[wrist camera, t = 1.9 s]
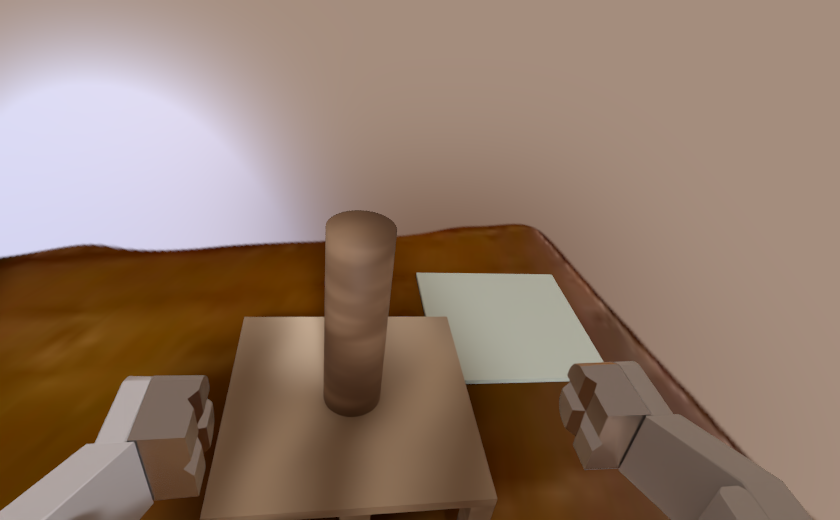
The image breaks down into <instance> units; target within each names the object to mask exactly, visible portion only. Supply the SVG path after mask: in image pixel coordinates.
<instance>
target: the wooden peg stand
mask: <svg viewBox="0 0 840 520" xmlns="http://www.w3.org/2000/svg"><path fill="white" fill-rule="evenodd" d="M396 236H397V227H396V225H395V224H394V222H393V221H392V220H390V219H389V218H387V217H385V216H383V215H381V214H378V213H375V212H370V211H361V210H360V211H359V210H355V211H346V212H342V213H339V214H336V215H334V216H333V217H331V218H330V219H329V220H328V221H327V223H326V244H325V316H324V317H244V321H243V326H242V330H241V335H240V339H239V344H238V348H237V353H236V357H235V362H234V366H233V371H232V375H231V380H230V384H229V389H228V394H227V398H226V403H225V407H224V412H223V416H222V421H221V425H220V430H219V434H218V439H217V443H216V448H215V452H214V457H213V461H212V466H211V470H210V475H209V479H208V484H207V488H206V493H205V497H204V502H203V507H202V511H201V516H200V520H301V519H315V518H329V517H339V520H370V515H372V514H386V513H400V512H415V511H429V510H443V509H457V508H460V509H459V513H458V516H457V520H490V519H491V516H492V513H493V510H494V507H495V504H496V502H497V496H496V492H495V488H494V485H493V481H492V478H491V474H490V470H489V467H488V463H487V459H486V456H485V452H484V449H483V445H482V441H481V438H480V434H479V431H478V427H477V423H476V420H475V416H474V413H473V409H472V405H471V402H470V398H469V394H468V391H467V387H466V384H465V380H464V376H463V373H462V369H461V366H460V362H459V358H458V355H457V351H456V348H455V344H454V340H453V337H452V333H451V330H450V326H449V322H448V319H447V317H388V314H389V304H390V294H391V285H392V275H393V265H394V255H395V246H396Z"/></svg>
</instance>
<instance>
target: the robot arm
mask: <svg viewBox="0 0 840 520" xmlns="http://www.w3.org/2000/svg"><path fill="white" fill-rule="evenodd" d="M567 376H568V378H569V380H570V383H569V384H567V385H566V386H565V387H564V388H563V389H562V391H561V395H560V398H559V411H560V415H561V419H562V421H563V424H564V426H565V428H566V429H567V430H568V431H569V432H571V433H572V434H573V435H575V439H574V443H573V446H574V448H575V450H576V453H577V455H578V457H579V459H580V461H581V463H582V466H583V468H584V470H589V469H615V468H620V469H619V471H620V472H621V473H622V474H623V475H624V476H625V477H626V478H628V479H629V480H630V481H631V482H632V483H633V484H634V485H635V486H636V487H637V488H638V489H639V490H640V491H641V492H642V493H644V494H645V495H646V496H647V497H648V498H649V499H650V500H651V501H652V502H653V503H654V504H655V505H656V506H657V507H658V508H660V509H661V510H662V511H663V512H664V513H665V514H666V515H667V516H668V517H669V518H670V519H671V520H813V519H812V518H811V516H810V515H809V514H808V513H807V511H806V510H805V509H804V508H803V506H802V505H801V504H800V503H799V501H798V500H797V499H796V498H795V496H794V495H793V494H792V493H791V491H790V490H789V489H788V487H787V486H786V485H785V484H784V482H783V481H781V480H780V479H779V478H777V477H776V476H774V475H772V474H771V473H769V472H768V471H766V470H765V469H763V468H762V467H760V466H759V465H757V464H755V463H754V462H752V461H751V460H749V459H748V458H746V457H745V456H743V455H742V454H740V453H738V452H737V451H735V450H734V449H732V448H731V447H729V446H728V445H726V444H725V443H723V442H721V441H720V440H718V439H717V438H715V437H714V436H712V435H711V434H709V433H708V432H706V431H704V430H703V429H701V428H700V427H698V426H697V425H695V424H694V423H692V422H691V421H689V420H687V419H686V418H684V417H683V416H681V415H680V414H673V413H672V412H671V410H670V409H669V407H668V406H667V404H666V403H665V401H664V400H663V399H662V397H661V396H660V394H659V393H658V391H657V390H656V388H655V387H654V386H653V384H652V383H651V381H650V380H649V378H648V377H647V375H646V374H645V372H644V371H643V370H642V368H641V367H640V365H639V364H637V363H636V362H635V361H626V362H600V363H576V364H573V365H572V366H571V367H570V369H569V372H568V374H567ZM209 389H210V386H209V381H208V377H207V376H205V375H181V376H128V377H127V378H126V379H125V380H124V381H123V382H122V384H121V386H120V389H119V391H118V393H117V395H116V397H115V399H114V402H113V404H112V406H111V408H110V410H109V413H108V415H107V417H106V419H105V421H104V424H103V426H102V428H101V430H100V432H99V434H98V437H97V439H96V441H95V443H94V444H86V445H84V446H83V447H82V448H80V449H79V450H78V451H77V452H75V453H74V454H73V455H72V456H70V457H69V458H68V459H66V460H65V461H64V462H63V463H61V464H60V465H59V466H57V467H56V468H55V469H54V470H52V471H51V472H50V473H49V474H47V475H46V476H45V477H43V478H42V479H41V480H40V481H38V482H37V483H36V484H34V485H33V486H32V487H31V488H29V489H28V490H27V491H26V492H24V493H23V494H22V495H20V496H19V497H18V498H17V499H15V500H14V501H13V502H11V503H10V504H9V505H8V506H6V507H5V508H4V509H2V510H1V511H0V520H139V519H140V518H141V517H142V516H143V515H144V513H145V512H146V511H147V510H148V509H149V508H150V507H151V505H152V504H153V500H163V499H174V498H184V497H195V496H199V493H200V489H201V485H202V481H203V476H204V472H205V468H206V465H205V459H204V453H205V452H206V451H207V450H208V449H209V448H210V446H211V442H212V437H213V429H214V408H213V402H211V401H210V400H209V399H207V397H208V393H209Z"/></svg>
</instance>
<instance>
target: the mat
mask: <svg viewBox="0 0 840 520" xmlns="http://www.w3.org/2000/svg"><path fill="white" fill-rule="evenodd" d="M416 279H417V283H418V288H419V292H420V297H421V301H422V306H423V310H424V314H425V317H447V319H448V322H449V326H450V330H451V333H452V337H453V340H454V344H455V348H456V351H457V355H458V358H459V362H460V366H461V369H462V373H463V376H464V380H465V384H484V383H522V382H561V381H570V380H569V378H568V376H567V374H568V372H569V369H570V367H571V366H572V365H573V364H576V363H600V362H603V360H602V358H601V357H600V355H599V353H598V352H597V350H596V348H595V347H594V345H593V343H592V342H591V340H590V338H589V337H588V335H587V333H586V332H585V330H584V328H583V327H582V325H581V323H580V322H579V320H578V318H577V317H576V315H575V313H574V311H573V310H572V308H571V306H570V305H569V303H568V301H567V300H566V298H565V296H564V295H563V293H562V291H561V290H560V288H559V286H558V285H557V283H556V281H555V280H554V278H553V276H552V275H549V274H472V273H416Z"/></svg>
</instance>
